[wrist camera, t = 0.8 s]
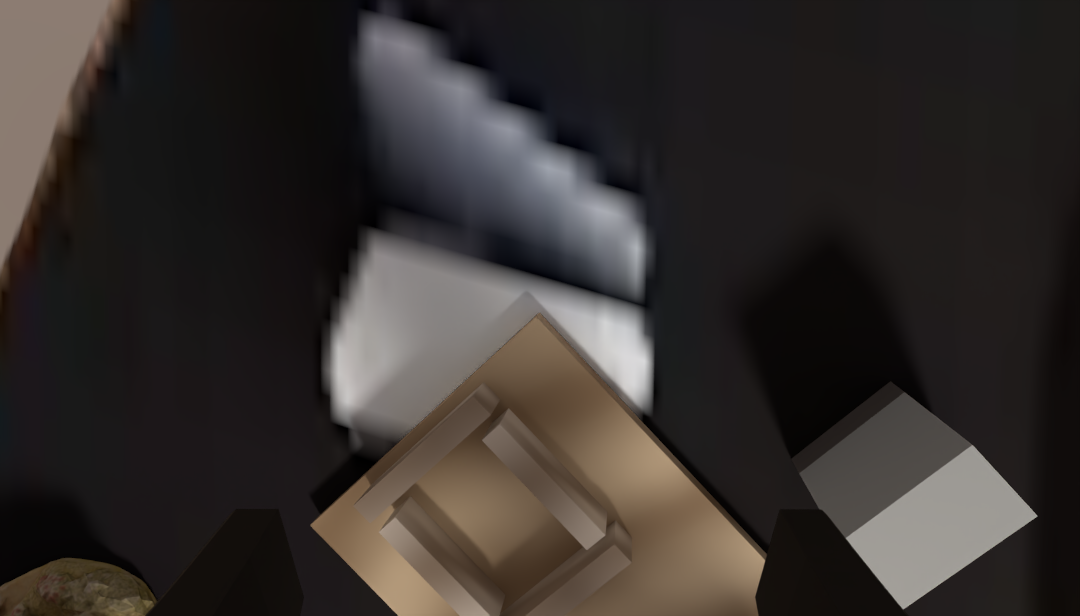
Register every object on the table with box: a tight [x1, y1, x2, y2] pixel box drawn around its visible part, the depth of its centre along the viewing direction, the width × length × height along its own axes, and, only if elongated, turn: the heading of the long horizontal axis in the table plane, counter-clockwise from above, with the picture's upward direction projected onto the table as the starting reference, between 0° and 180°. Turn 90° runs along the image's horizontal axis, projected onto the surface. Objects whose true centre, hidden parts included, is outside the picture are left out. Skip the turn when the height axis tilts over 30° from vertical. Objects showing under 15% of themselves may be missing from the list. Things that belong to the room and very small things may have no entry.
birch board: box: [310, 313, 767, 616], centre depth 30 cm, size 18×14×3 cm
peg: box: [791, 381, 1037, 609], centre depth 26 cm, size 3×5×7 cm, turn 133°
